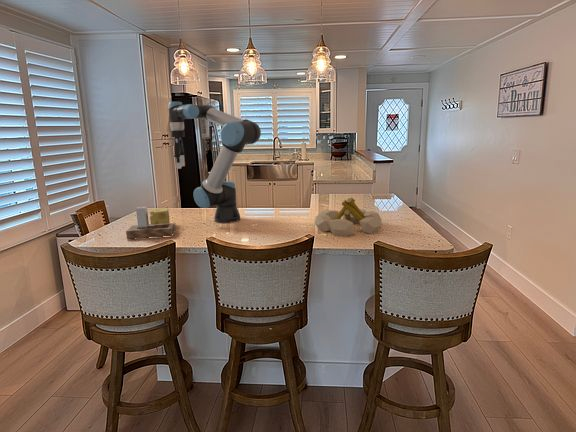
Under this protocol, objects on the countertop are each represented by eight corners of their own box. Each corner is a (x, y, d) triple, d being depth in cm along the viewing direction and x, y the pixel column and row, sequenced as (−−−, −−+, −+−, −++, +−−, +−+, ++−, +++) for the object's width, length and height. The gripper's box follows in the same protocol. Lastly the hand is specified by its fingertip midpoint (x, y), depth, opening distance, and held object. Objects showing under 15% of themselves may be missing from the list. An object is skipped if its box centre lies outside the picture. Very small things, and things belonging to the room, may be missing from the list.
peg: (151, 232, 213) (148, 206, 210) (149, 235, 208) (146, 208, 204) (140, 232, 213) (136, 206, 210) (137, 235, 207) (133, 209, 204)
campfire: (328, 240, 193) (328, 204, 189) (306, 224, 225) (306, 193, 221) (394, 233, 201) (395, 199, 198) (364, 218, 234) (365, 189, 230)
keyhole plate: (175, 231, 218) (174, 223, 217) (171, 237, 206) (170, 228, 205) (133, 233, 215) (132, 225, 214) (127, 239, 204) (126, 231, 203)
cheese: (150, 230, 222) (148, 212, 220) (151, 225, 232) (149, 208, 230) (170, 228, 225) (168, 210, 222) (170, 224, 235) (168, 207, 233)
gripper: (174, 130, 242) (177, 165, 247) (166, 130, 218) (170, 169, 223) (187, 129, 243) (190, 165, 248) (181, 130, 219) (184, 169, 223)
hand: (180, 167), depth 235 cm, fingers open, 13 cm apart
